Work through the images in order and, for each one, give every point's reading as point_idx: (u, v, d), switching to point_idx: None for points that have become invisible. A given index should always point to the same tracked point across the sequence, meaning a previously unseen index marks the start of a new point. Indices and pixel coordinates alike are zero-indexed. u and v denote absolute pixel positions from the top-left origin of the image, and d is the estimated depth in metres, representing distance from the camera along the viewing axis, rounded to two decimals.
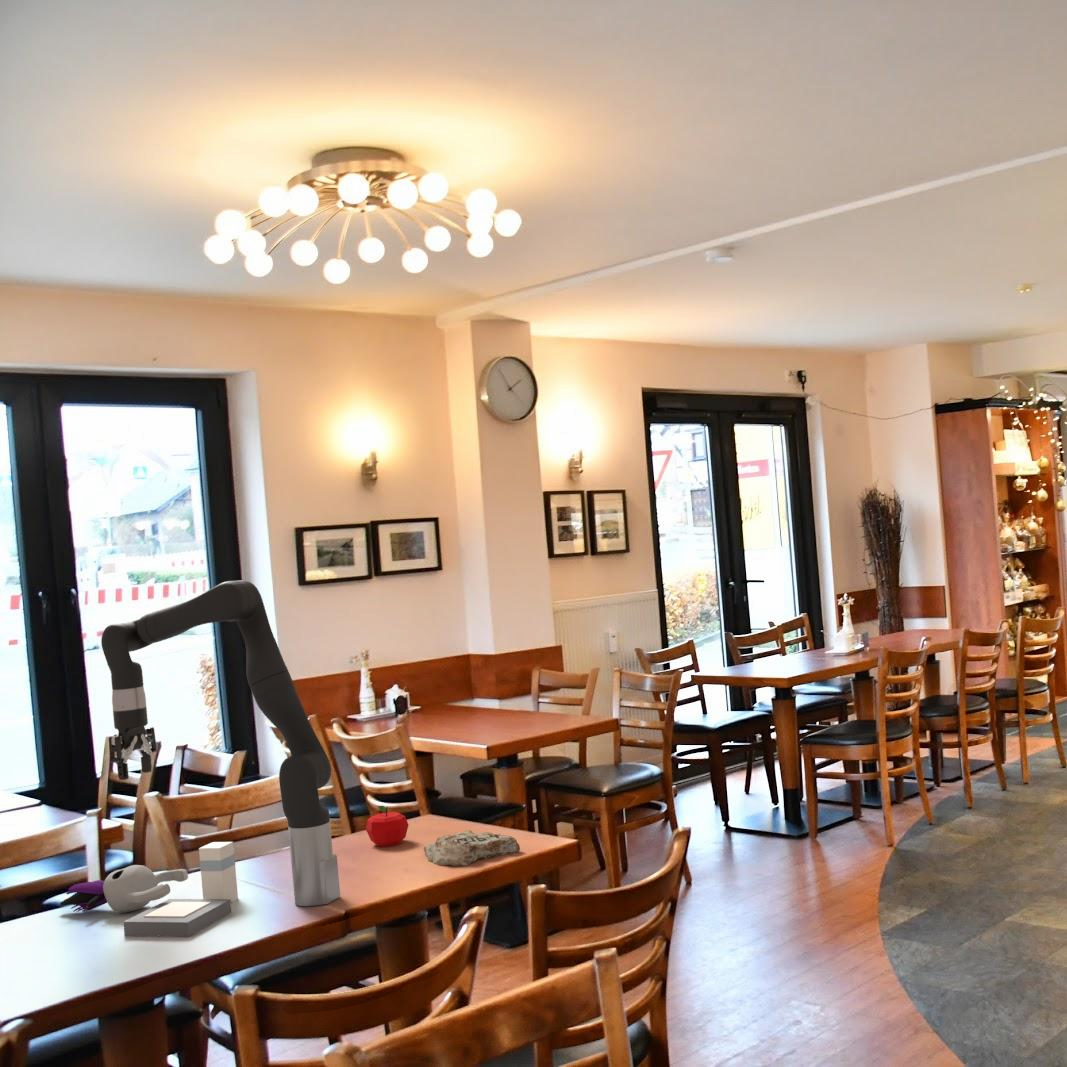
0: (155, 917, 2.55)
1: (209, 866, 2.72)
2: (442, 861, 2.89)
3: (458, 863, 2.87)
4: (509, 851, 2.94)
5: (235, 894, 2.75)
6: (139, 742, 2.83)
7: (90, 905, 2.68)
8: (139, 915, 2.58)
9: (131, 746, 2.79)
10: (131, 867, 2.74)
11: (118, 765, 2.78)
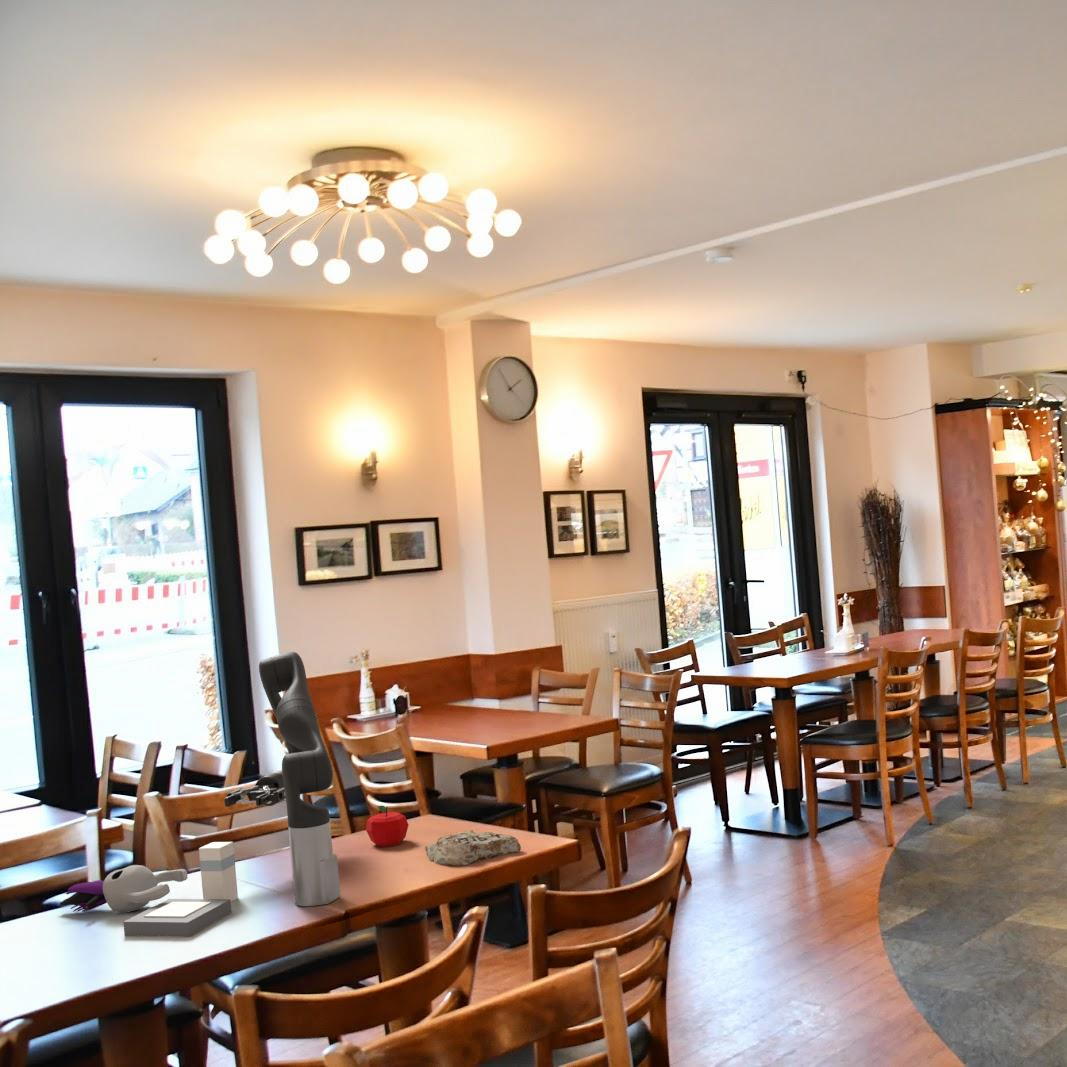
0: (155, 917, 2.55)
1: (209, 866, 2.72)
2: (443, 860, 2.89)
3: (459, 862, 2.87)
4: (510, 851, 2.95)
5: (235, 894, 2.75)
6: (261, 790, 2.93)
7: (90, 905, 2.68)
8: (139, 915, 2.58)
9: (247, 788, 2.94)
10: (131, 867, 2.74)
11: None
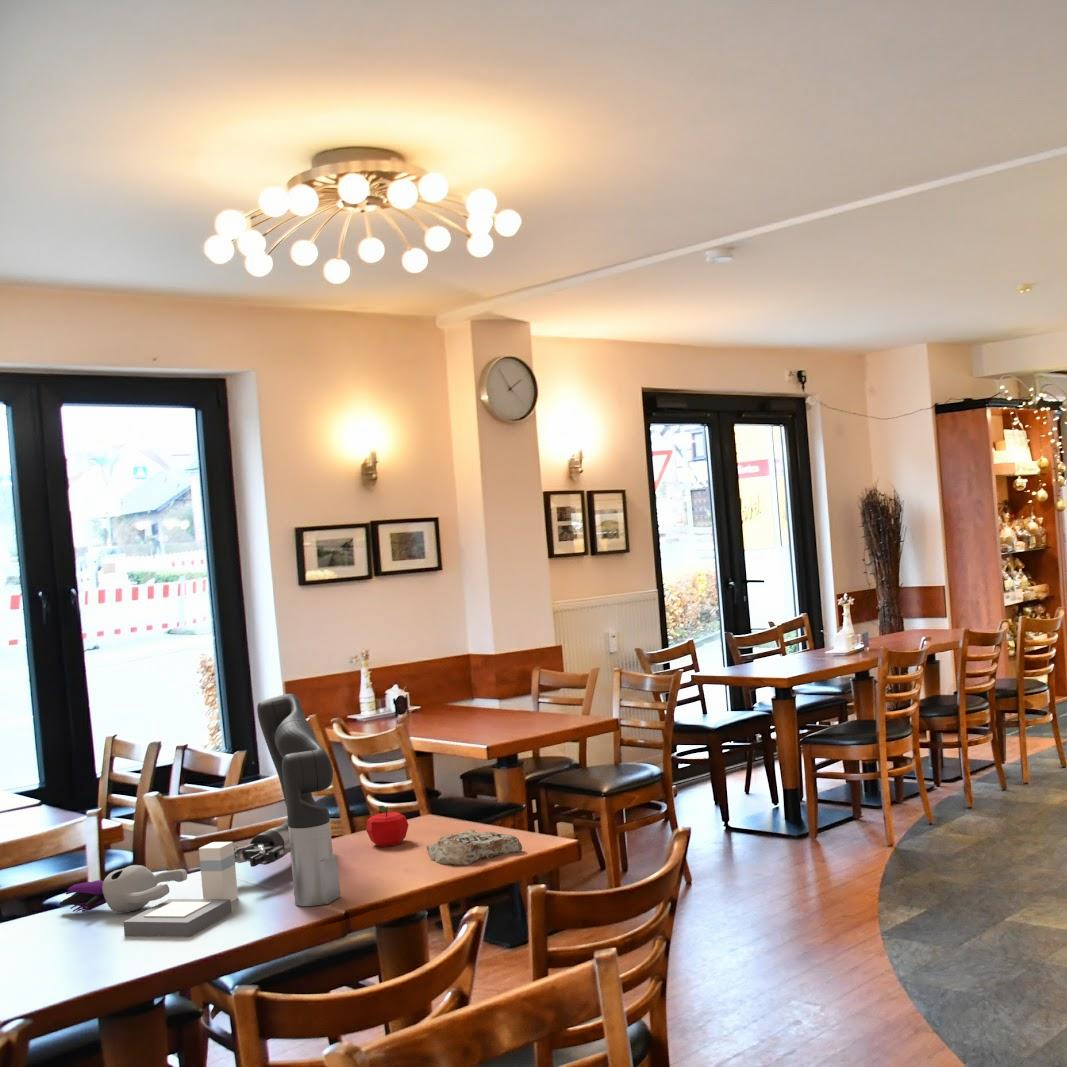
0: (155, 917, 2.55)
1: (209, 866, 2.72)
2: (444, 860, 2.90)
3: (460, 862, 2.87)
4: (511, 850, 2.95)
5: (235, 894, 2.75)
6: (256, 849, 2.88)
7: (89, 905, 2.68)
8: (139, 915, 2.58)
9: (242, 847, 2.89)
10: (130, 867, 2.74)
11: None
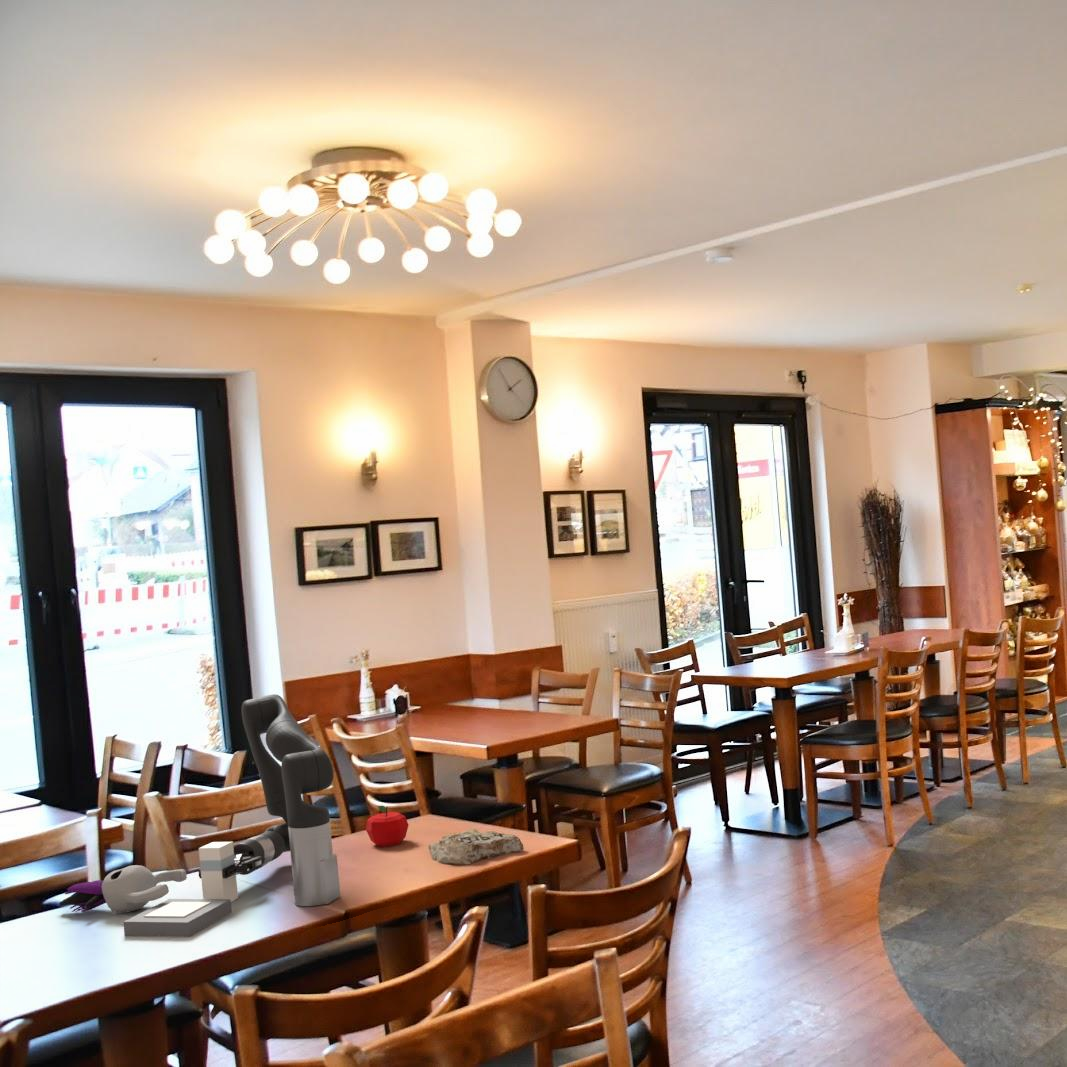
0: (155, 917, 2.55)
1: (209, 866, 2.72)
2: (445, 860, 2.90)
3: (461, 862, 2.88)
4: (513, 850, 2.95)
5: (235, 894, 2.75)
6: None
7: (89, 905, 2.68)
8: (139, 915, 2.58)
9: None
10: (130, 867, 2.74)
11: None
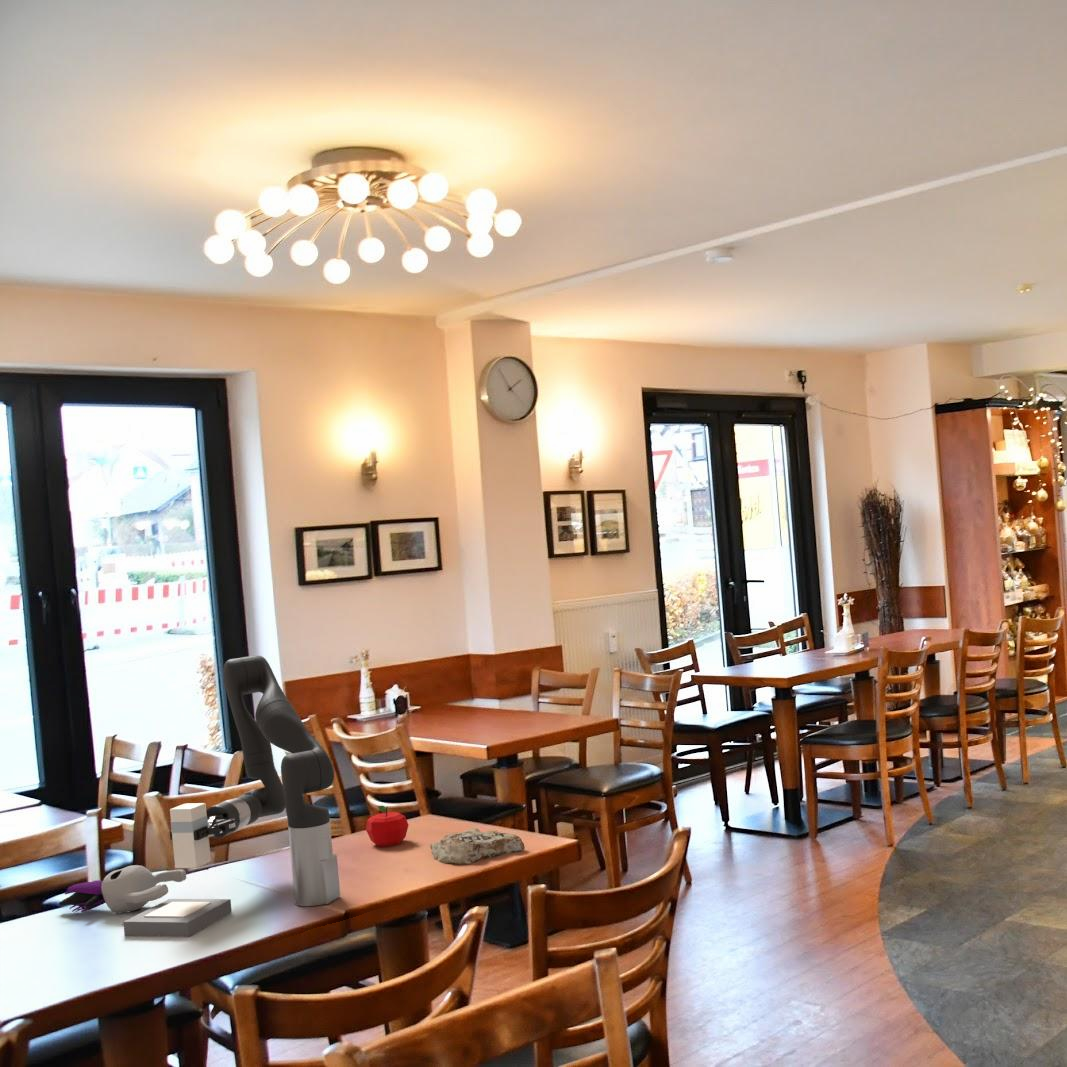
0: (155, 917, 2.55)
1: (180, 827, 2.64)
2: (446, 859, 2.91)
3: (462, 861, 2.88)
4: (514, 850, 2.95)
5: (208, 857, 2.67)
6: None
7: (88, 905, 2.68)
8: (139, 915, 2.58)
9: None
10: (129, 867, 2.74)
11: None
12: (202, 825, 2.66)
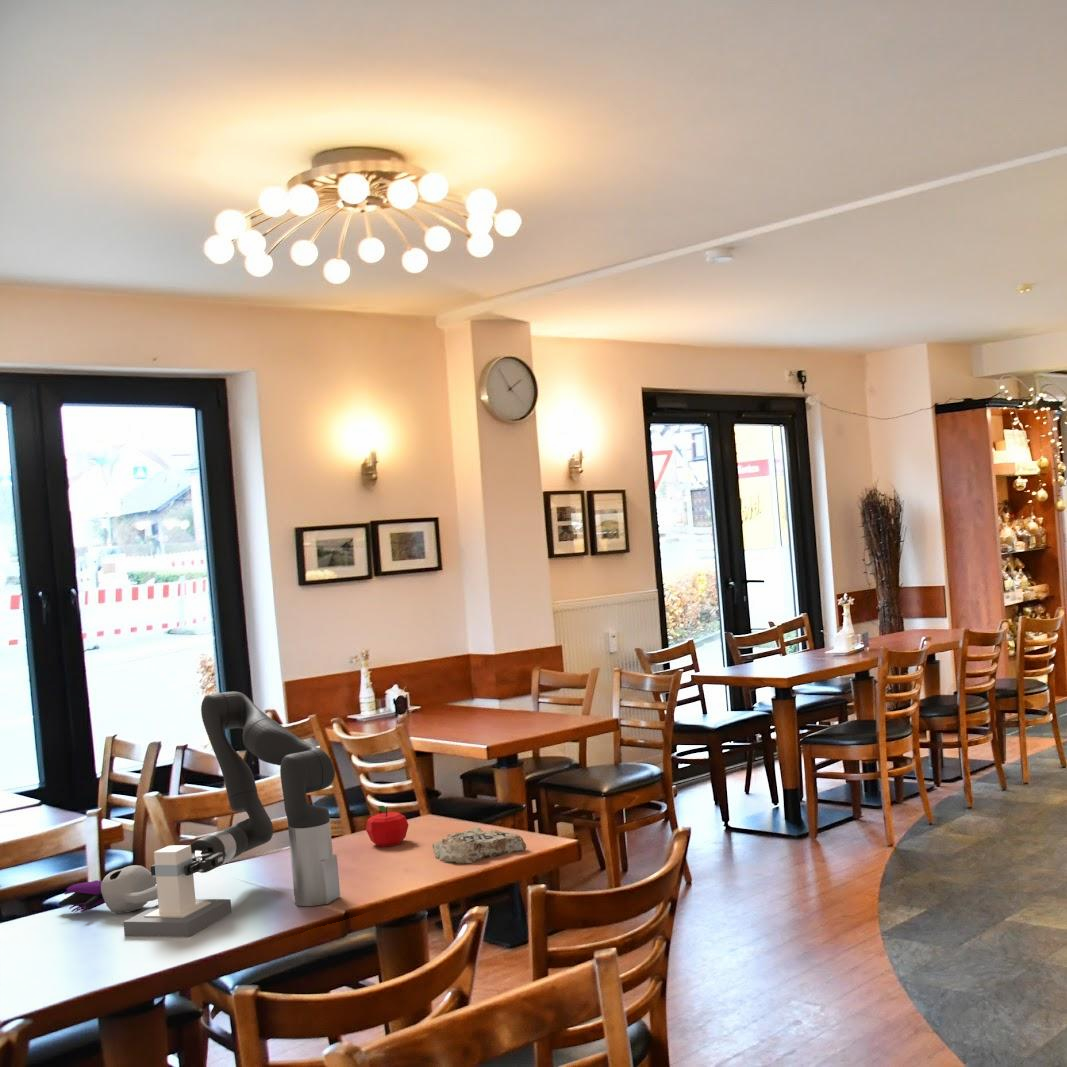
0: (155, 917, 2.55)
1: (164, 871, 2.57)
2: (447, 858, 2.91)
3: (462, 860, 2.89)
4: (515, 849, 2.95)
5: (193, 900, 2.60)
6: (193, 856, 2.65)
7: (88, 905, 2.68)
8: (139, 915, 2.58)
9: None
10: (129, 867, 2.74)
11: None
12: None
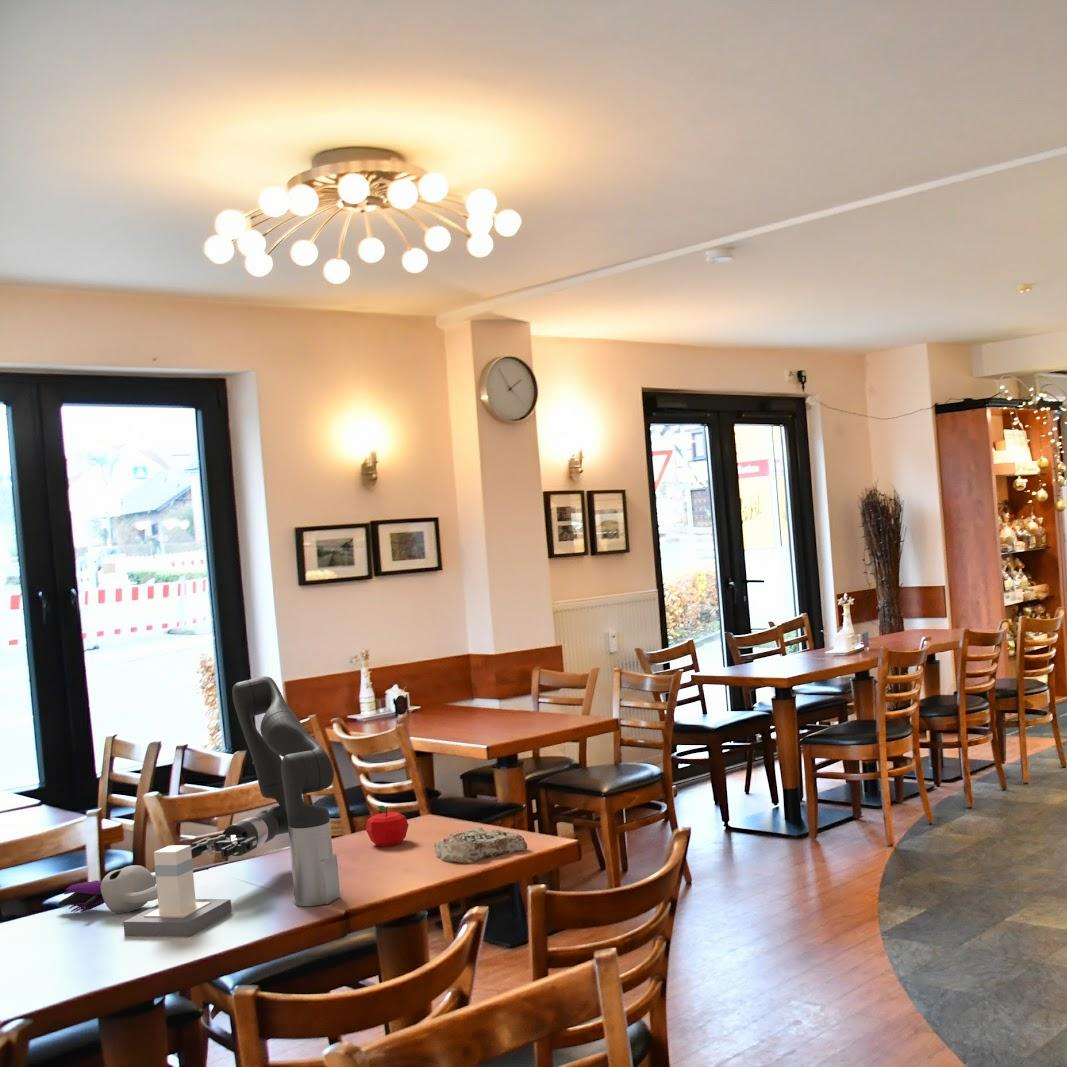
0: (155, 917, 2.55)
1: (164, 871, 2.57)
2: (448, 858, 2.92)
3: (463, 860, 2.89)
4: (516, 849, 2.96)
5: (193, 900, 2.60)
6: (228, 840, 2.78)
7: (87, 905, 2.69)
8: (139, 915, 2.58)
9: (214, 838, 2.79)
10: (129, 867, 2.74)
11: None
12: (187, 868, 2.59)
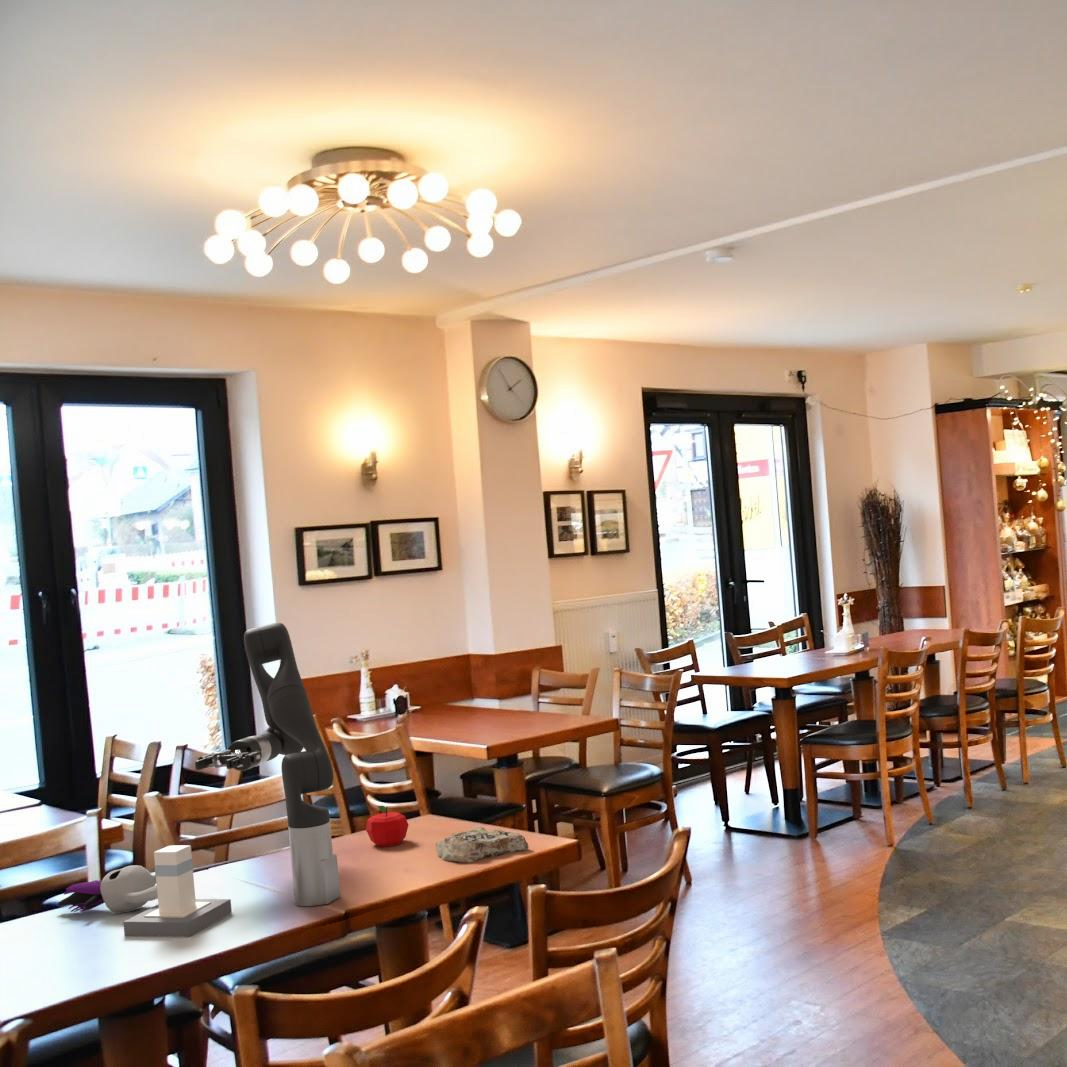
0: (155, 917, 2.55)
1: (164, 871, 2.57)
2: (449, 857, 2.92)
3: (464, 860, 2.89)
4: (517, 849, 2.96)
5: (193, 900, 2.60)
6: (233, 754, 2.90)
7: (87, 905, 2.69)
8: (139, 915, 2.58)
9: (219, 752, 2.91)
10: (128, 867, 2.74)
11: None
12: (187, 868, 2.59)
